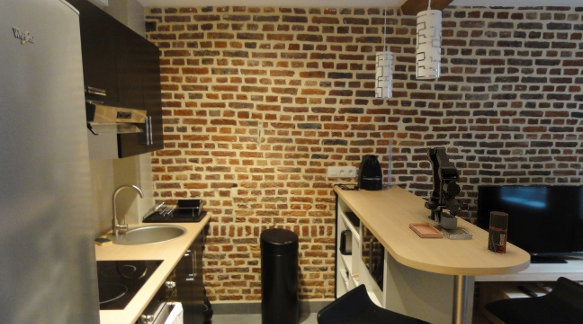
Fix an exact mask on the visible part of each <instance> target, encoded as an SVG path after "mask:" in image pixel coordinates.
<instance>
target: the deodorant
mask: <svg viewBox="0 0 583 324" xmlns="http://www.w3.org/2000/svg"><path fill="white" fill-rule="evenodd" d="M488 222H489V227H488V239H487V250H489V251H490V252H493V253H498V254H505V253H507V242H508V241H507V239H508V227H509V214H508V213H507V212H503V211H497V210H496V211H490V212H489V221H488Z"/></svg>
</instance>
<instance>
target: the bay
mask: <svg viewBox="0 0 583 324" xmlns="http://www.w3.org/2000/svg"><path fill="white" fill-rule="evenodd" d="M440 232H441V233H443V236H445V238H448V239H449V240H473V234H472V233H470V232H468V231H466V230H465V229H464V228H461V231H460V233H461V234H457V233H455V234H454V233H453V234H452V233H450V232H448V231H447V230H445V228H441V231H440Z"/></svg>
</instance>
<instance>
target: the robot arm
mask: <svg viewBox="0 0 583 324" xmlns="http://www.w3.org/2000/svg"><path fill="white" fill-rule="evenodd" d="M446 151H447V150H446V147H445V146H435V147H432V148H429V149H427V150H426V156H427V158H428V162H429V163H430V164H431V174H432V175H431V176H432V191H431V192H430V193H429V197H428V200H427V201H425V202H424V208H426V209H427V210H430V215H428V216H427V218H430V219H431V220H432V221H435V215H436V217H437V220H438V222H439V223H440V220H441V216H440V213H441V212H444V211H443V210H444V209H445V210H446V209H447V210H449V214H451V215H452V216H454V217H457V215H458V213H461V212H462V211H469V207H470V206H469V204H468V203H466V202H465V201H464V200H463V199H459V198H458V199H456V196H459V194H460V193H461V191H462V190H461V187H460V185H459V184H458V183H457V182H460V179H461V178H460V177H461V176H460V172H459V170H458V168H457V167H456V165H455V163H453V162H450V159H449V157H448V153H447V152H446Z"/></svg>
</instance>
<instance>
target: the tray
mask: <svg viewBox="0 0 583 324" xmlns="http://www.w3.org/2000/svg"><path fill="white" fill-rule="evenodd" d="M408 225H409V226H408V227H409V228H410V229H411V230H412V231H413V232H414V233H415V234H416V235H417V236H419V237H420V239H443V238H444V235H443V233H441V231H440V230H438V229H437V228H436V227H434V226H433V225H432V224H430V223H428V222H427V223H425V222H423V223H419V222H417V223H416V222H414V223H413V222H410V223H408Z"/></svg>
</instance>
